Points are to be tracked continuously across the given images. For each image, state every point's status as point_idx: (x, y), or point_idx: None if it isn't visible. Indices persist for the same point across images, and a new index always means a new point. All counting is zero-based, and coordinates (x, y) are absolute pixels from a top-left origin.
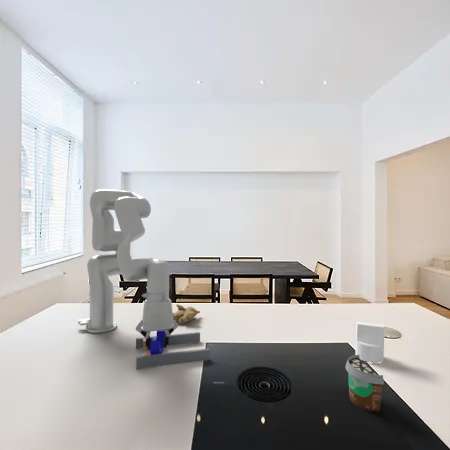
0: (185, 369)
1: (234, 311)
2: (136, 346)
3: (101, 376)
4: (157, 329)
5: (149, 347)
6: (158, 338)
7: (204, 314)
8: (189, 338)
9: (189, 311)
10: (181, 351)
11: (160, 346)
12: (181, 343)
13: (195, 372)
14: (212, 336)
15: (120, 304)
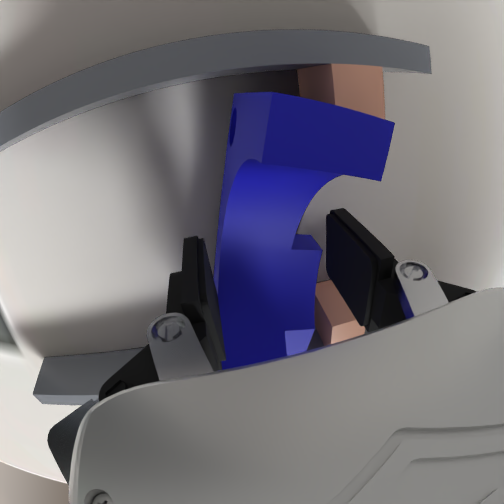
0: (46, 20)
1: (57, 469)
2: None
3: (490, 53)
4: (369, 345)
5: (341, 216)
6: (268, 346)
7: None
8: (81, 374)
9: None
10: (29, 128)
11: (244, 157)
12: (123, 352)
13: (3, 6)
14: (25, 387)
15: None
